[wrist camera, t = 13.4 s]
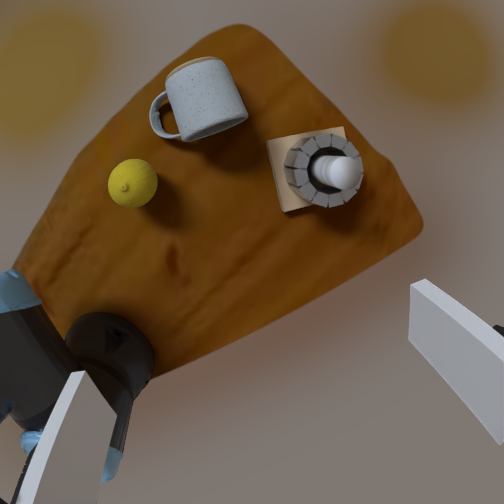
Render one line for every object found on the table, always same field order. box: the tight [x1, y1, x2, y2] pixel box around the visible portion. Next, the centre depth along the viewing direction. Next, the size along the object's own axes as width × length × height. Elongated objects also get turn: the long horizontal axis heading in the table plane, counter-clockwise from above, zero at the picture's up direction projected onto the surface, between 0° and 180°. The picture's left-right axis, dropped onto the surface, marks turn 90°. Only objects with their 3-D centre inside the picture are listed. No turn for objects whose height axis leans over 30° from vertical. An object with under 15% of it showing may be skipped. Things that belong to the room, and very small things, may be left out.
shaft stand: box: [265, 127, 361, 212], centre depth 32 cm, size 10×9×11 cm
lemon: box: [108, 159, 158, 208], centre depth 31 cm, size 6×6×8 cm
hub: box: [283, 133, 363, 208], centre depth 33 cm, size 8×8×5 cm
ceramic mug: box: [150, 57, 248, 142], centre depth 29 cm, size 11×8×8 cm
